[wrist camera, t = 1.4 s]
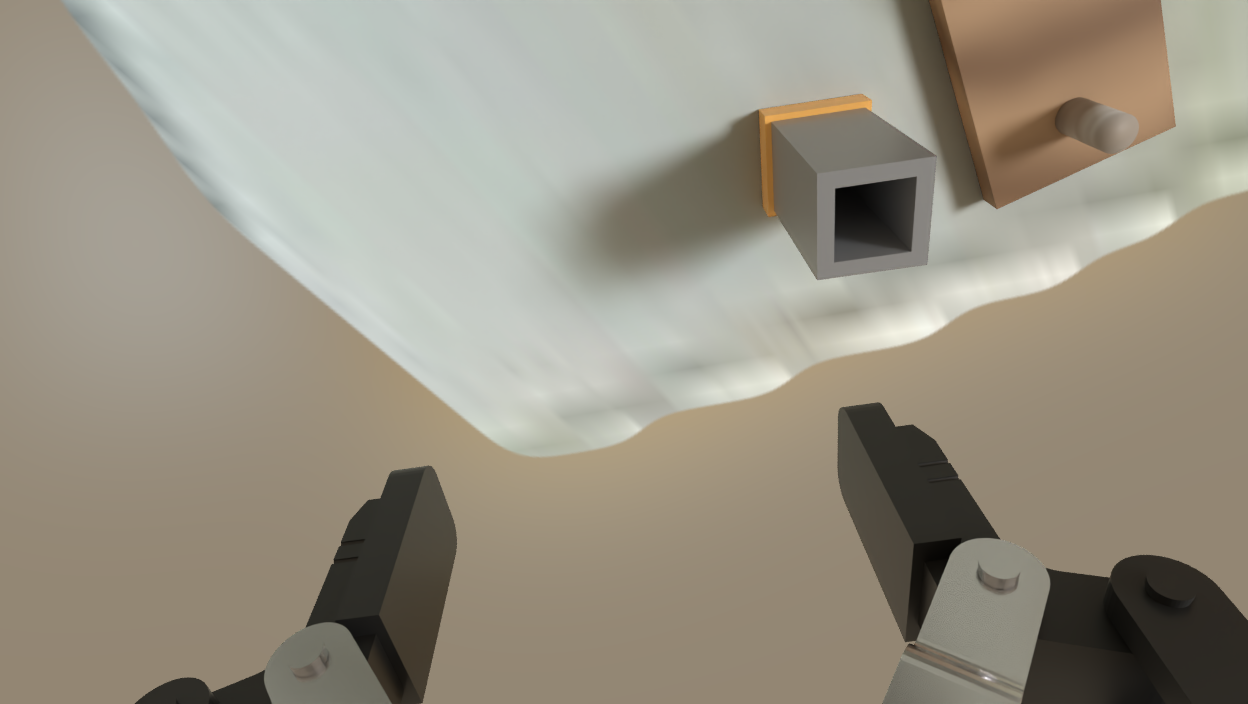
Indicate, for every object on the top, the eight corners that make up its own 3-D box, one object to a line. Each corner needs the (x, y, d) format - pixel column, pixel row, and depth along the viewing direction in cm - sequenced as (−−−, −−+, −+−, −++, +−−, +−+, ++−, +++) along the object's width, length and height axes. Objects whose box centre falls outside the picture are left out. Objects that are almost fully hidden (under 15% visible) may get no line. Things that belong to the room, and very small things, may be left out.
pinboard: (905, -85, 32) (953, -86, 28) (1112, -203, 30) (1198, -223, 26) (983, 199, 39) (1031, 233, 35) (1155, 119, 37) (1228, 144, 33)
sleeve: (762, 207, 39) (810, 287, 30) (758, 109, 36) (809, 167, 28) (858, 193, 39) (933, 270, 30) (862, 93, 36) (945, 147, 27)
